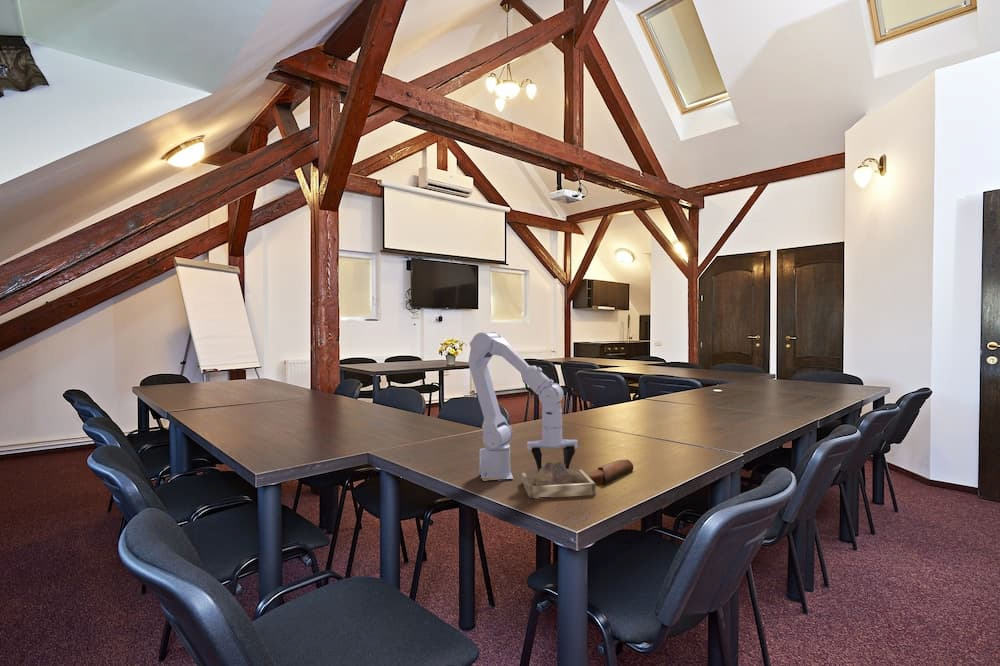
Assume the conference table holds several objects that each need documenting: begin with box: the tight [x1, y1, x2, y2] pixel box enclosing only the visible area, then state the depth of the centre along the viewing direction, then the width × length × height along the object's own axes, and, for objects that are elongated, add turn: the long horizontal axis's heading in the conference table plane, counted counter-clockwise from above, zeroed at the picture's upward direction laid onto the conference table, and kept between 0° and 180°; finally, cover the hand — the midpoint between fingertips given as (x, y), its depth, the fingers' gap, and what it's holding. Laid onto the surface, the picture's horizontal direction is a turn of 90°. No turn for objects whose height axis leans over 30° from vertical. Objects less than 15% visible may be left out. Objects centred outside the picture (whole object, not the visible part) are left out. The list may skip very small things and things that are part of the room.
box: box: [521, 469, 597, 499], centre depth 136 cm, size 18×13×3 cm
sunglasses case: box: [587, 459, 634, 486], centre depth 146 cm, size 18×7×7 cm, turn 140°
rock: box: [532, 461, 581, 486], centre depth 137 cm, size 6×14×7 cm, turn 103°
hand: (553, 473), depth 141 cm, fingers open, 7 cm apart
